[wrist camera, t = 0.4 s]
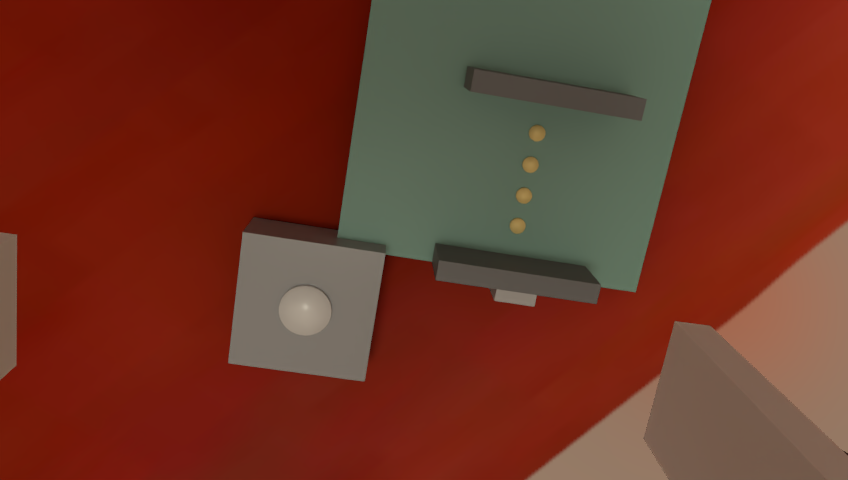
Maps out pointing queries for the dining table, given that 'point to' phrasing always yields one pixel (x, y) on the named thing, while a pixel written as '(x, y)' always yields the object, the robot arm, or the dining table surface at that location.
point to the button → (305, 300)
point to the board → (519, 138)
